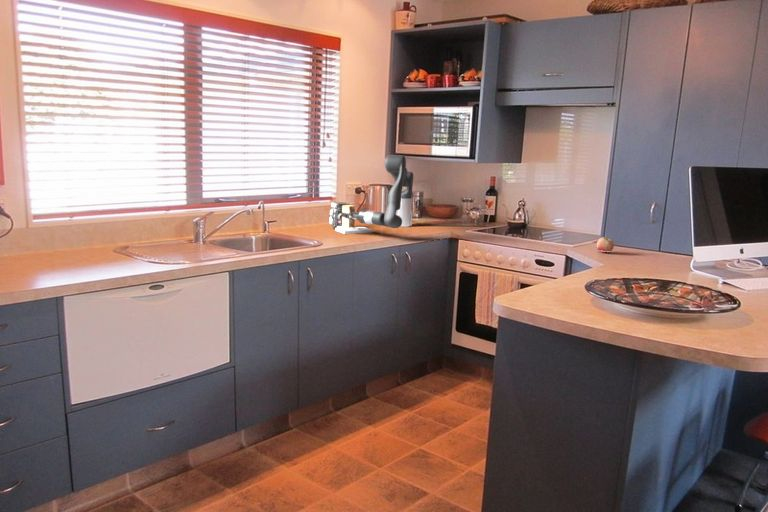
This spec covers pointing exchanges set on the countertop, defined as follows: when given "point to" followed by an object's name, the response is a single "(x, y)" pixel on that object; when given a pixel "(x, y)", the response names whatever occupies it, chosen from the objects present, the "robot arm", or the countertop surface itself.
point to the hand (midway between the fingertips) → (344, 213)
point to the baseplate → (353, 230)
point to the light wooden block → (345, 221)
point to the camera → (336, 214)
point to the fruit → (605, 244)
